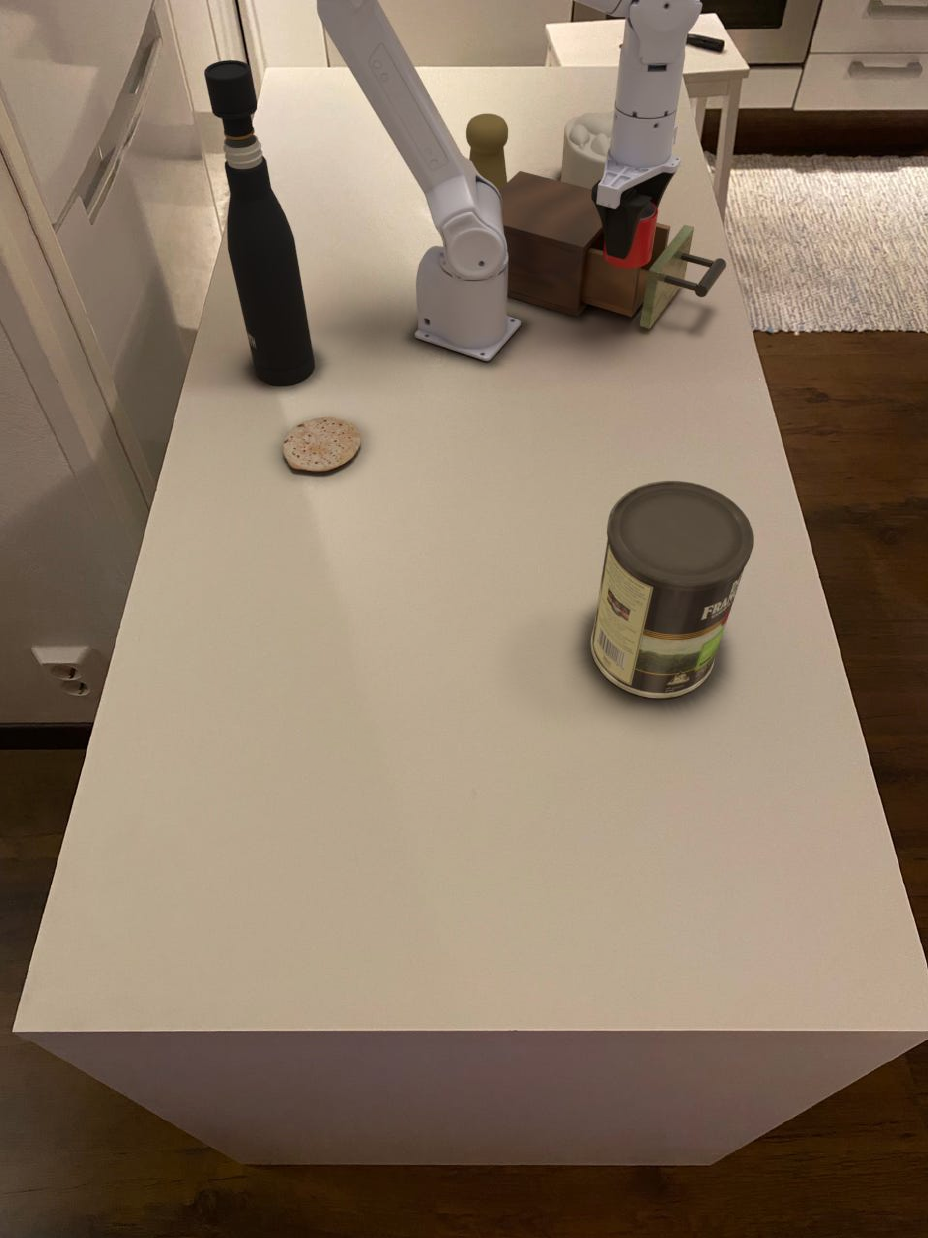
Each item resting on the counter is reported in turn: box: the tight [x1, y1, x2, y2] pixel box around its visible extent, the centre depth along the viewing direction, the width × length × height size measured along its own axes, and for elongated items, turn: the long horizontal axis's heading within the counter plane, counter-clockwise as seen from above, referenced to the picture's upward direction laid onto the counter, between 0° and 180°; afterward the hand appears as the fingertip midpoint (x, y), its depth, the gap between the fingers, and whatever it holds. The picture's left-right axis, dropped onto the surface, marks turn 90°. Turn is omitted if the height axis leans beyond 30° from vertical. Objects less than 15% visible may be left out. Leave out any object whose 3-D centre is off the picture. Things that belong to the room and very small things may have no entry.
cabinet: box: [499, 170, 603, 318], centre depth 109 cm, size 14×12×9 cm
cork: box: [465, 113, 509, 191], centre depth 118 cm, size 6×6×11 cm
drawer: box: [581, 222, 727, 329], centre depth 106 cm, size 17×10×7 cm, turn 61°
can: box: [603, 202, 659, 269], centre depth 97 cm, size 5×5×5 cm
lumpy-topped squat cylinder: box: [560, 110, 614, 189], centre depth 121 cm, size 10×13×9 cm
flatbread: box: [282, 416, 362, 472], centre depth 93 cm, size 8×8×1 cm
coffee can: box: [590, 480, 755, 699], centre depth 73 cm, size 10×10×14 cm
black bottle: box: [203, 59, 316, 387], centre depth 90 cm, size 6×6×30 cm
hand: (627, 242), depth 98 cm, fingers closed on can, 5 cm apart
